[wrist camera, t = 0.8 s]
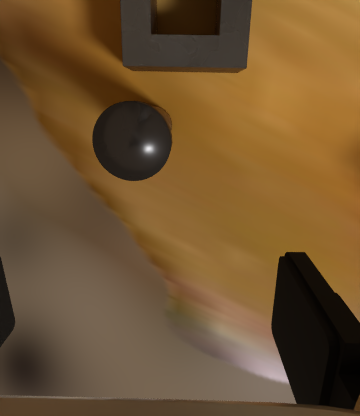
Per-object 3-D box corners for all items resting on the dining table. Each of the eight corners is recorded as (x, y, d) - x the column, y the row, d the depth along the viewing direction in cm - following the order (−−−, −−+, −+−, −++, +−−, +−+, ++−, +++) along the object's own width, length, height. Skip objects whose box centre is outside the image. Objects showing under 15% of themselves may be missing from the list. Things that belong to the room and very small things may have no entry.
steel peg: (130, 99, 31) (89, 100, 18) (178, 100, 31) (171, 101, 18) (131, 148, 32) (95, 179, 20) (177, 149, 32) (170, 181, 20)
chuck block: (129, -57, 27) (117, -90, 22) (246, -55, 26) (259, -89, 22) (133, 70, 30) (122, 65, 25) (237, 72, 30) (246, 68, 25)
